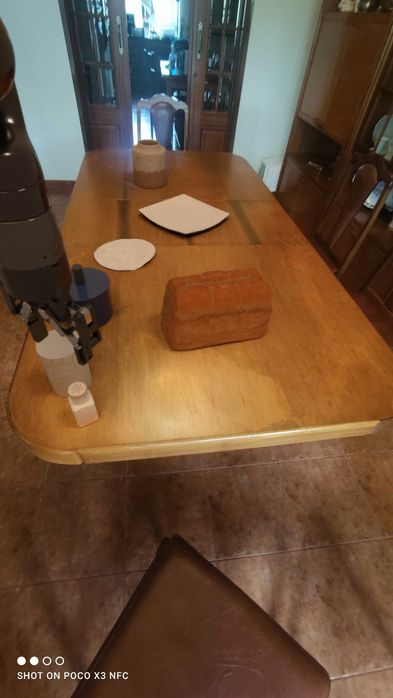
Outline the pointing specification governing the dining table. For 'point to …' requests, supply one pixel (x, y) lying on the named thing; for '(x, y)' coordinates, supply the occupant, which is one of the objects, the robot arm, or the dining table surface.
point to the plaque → (124, 254)
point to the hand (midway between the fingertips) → (63, 349)
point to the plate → (184, 215)
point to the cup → (62, 363)
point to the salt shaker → (82, 404)
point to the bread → (215, 308)
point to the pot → (98, 308)
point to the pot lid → (87, 283)
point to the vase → (149, 164)
